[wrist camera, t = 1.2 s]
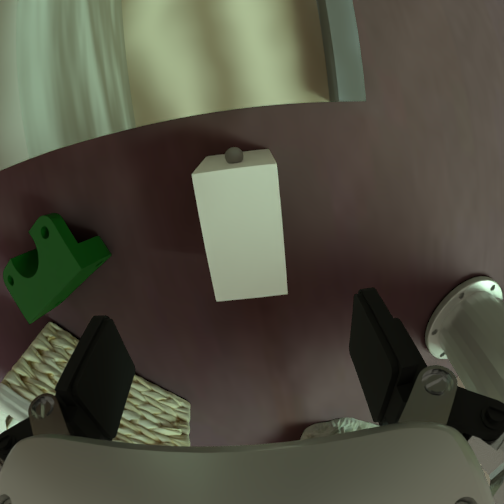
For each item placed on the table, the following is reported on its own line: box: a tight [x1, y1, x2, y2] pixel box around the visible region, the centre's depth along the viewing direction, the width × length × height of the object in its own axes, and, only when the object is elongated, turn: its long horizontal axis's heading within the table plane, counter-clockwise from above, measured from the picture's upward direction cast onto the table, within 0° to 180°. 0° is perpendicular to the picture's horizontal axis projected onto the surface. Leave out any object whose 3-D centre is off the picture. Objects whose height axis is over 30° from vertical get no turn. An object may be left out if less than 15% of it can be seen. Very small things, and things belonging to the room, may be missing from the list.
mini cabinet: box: [191, 147, 288, 302], centre depth 22 cm, size 5×10×7 cm, turn 7°
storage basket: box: [0, 322, 190, 446], centre depth 30 cm, size 24×16×15 cm
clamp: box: [3, 213, 112, 324], centre depth 25 cm, size 12×6×9 cm, turn 119°
